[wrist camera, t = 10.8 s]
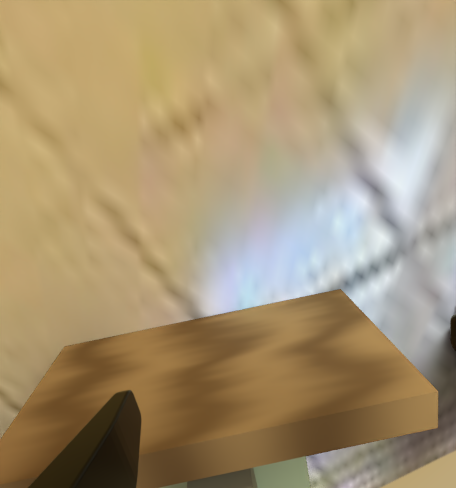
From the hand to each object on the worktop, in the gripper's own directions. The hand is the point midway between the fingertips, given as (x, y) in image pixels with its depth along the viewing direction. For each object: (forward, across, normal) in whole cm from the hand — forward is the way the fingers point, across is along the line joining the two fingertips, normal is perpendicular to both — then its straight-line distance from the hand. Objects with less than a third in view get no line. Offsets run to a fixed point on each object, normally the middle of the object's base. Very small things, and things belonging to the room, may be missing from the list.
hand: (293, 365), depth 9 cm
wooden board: (+13, +4, +9) cm, 16 cm away
